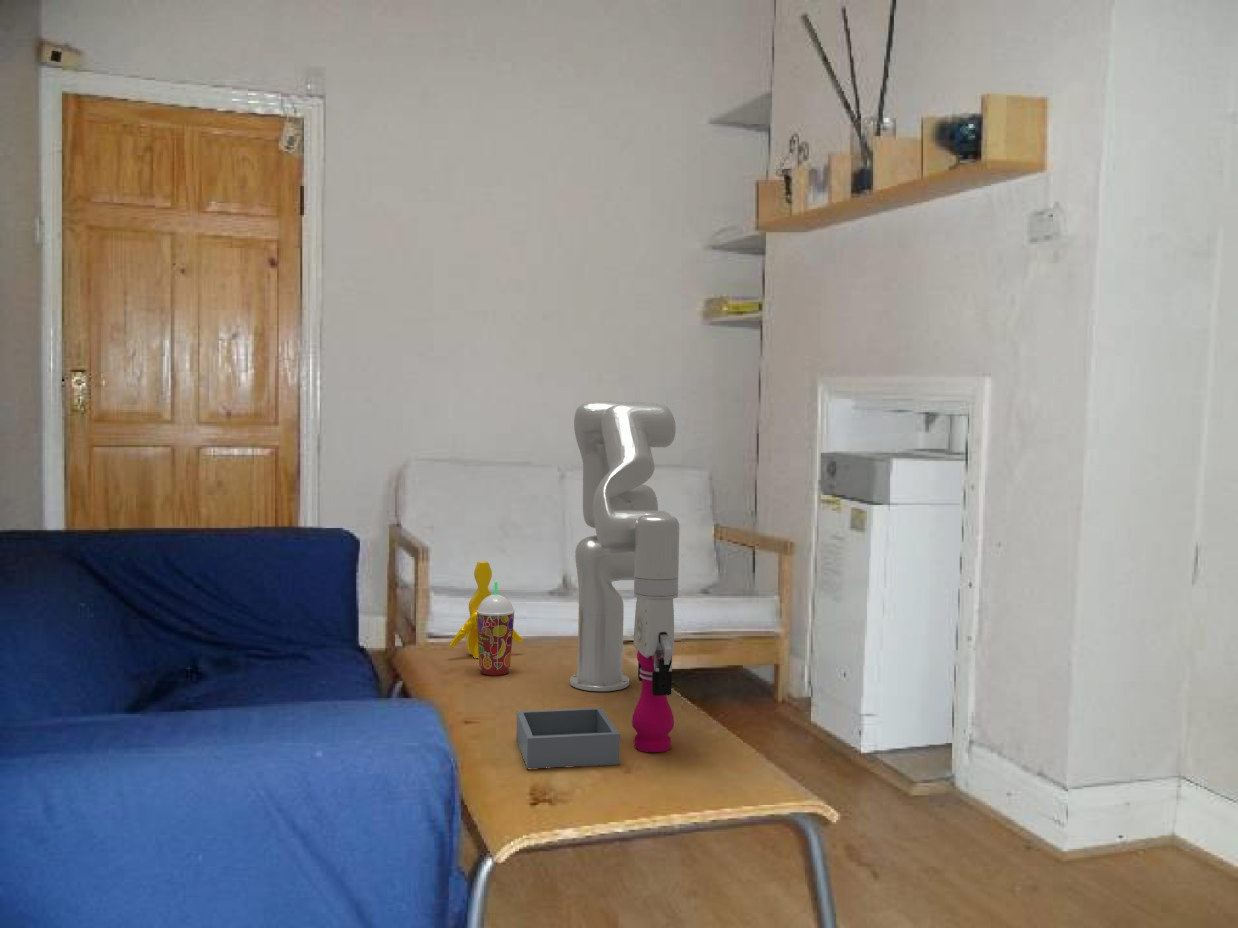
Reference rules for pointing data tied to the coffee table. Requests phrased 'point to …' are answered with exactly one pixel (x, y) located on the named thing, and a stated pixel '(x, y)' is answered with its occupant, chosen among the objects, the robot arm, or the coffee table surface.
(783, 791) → the coffee table surface
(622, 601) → the robot arm
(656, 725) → the pepper mill
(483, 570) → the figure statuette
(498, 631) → the smoothie
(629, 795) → the coffee table surface
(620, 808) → the coffee table surface
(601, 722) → the bin
